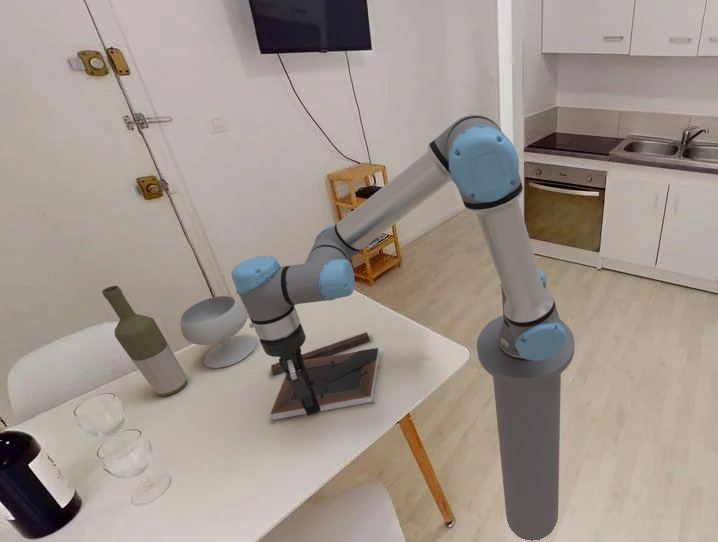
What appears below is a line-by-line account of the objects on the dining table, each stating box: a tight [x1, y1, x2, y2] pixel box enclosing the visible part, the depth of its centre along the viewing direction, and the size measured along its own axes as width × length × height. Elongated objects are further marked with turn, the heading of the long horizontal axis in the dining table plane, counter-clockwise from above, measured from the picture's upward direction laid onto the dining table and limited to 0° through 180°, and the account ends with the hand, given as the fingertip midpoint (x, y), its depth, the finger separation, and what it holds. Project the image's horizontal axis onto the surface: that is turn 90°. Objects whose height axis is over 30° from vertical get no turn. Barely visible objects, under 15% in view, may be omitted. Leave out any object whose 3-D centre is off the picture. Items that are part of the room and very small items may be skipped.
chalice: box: [179, 295, 257, 369], centre depth 109 cm, size 14×14×15 cm
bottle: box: [101, 285, 188, 397], centre depth 94 cm, size 7×7×30 cm
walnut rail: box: [270, 331, 371, 376], centre depth 110 cm, size 24×2×2 cm, turn 120°
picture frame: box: [270, 347, 380, 420], centre depth 101 cm, size 16×2×22 cm
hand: (313, 411), depth 92 cm, fingers closed
